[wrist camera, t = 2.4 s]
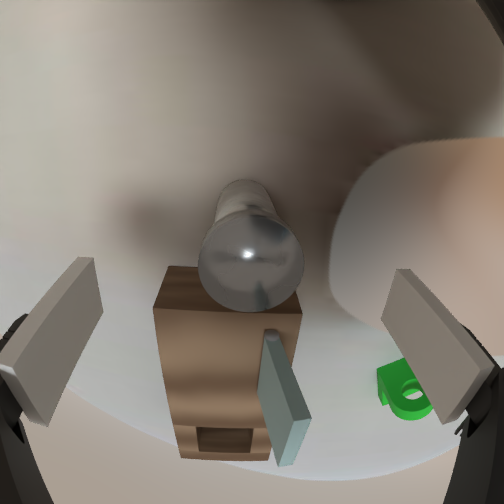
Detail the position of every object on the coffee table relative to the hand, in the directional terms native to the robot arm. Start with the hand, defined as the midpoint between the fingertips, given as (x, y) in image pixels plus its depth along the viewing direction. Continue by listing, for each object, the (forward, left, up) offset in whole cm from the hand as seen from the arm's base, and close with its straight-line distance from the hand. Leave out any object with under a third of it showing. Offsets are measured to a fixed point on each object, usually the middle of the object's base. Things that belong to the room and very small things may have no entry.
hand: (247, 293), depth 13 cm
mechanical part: (+18, +23, -12) cm, 32 cm away
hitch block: (+16, -1, -12) cm, 20 cm away
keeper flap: (+10, +2, -5) cm, 11 cm away
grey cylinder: (0, 0, -12) cm, 12 cm away
